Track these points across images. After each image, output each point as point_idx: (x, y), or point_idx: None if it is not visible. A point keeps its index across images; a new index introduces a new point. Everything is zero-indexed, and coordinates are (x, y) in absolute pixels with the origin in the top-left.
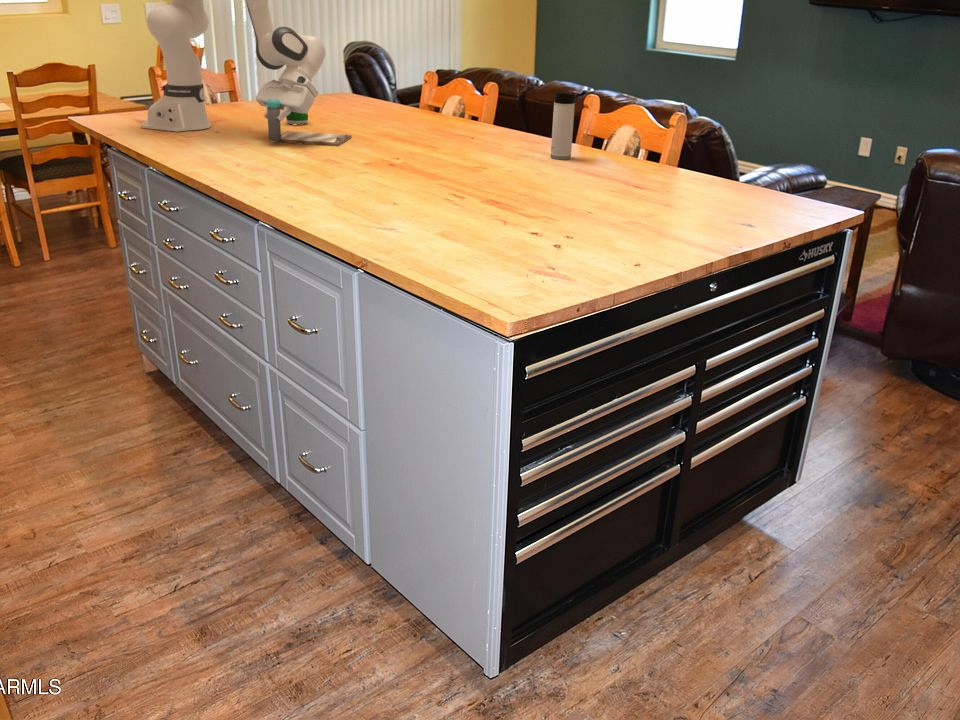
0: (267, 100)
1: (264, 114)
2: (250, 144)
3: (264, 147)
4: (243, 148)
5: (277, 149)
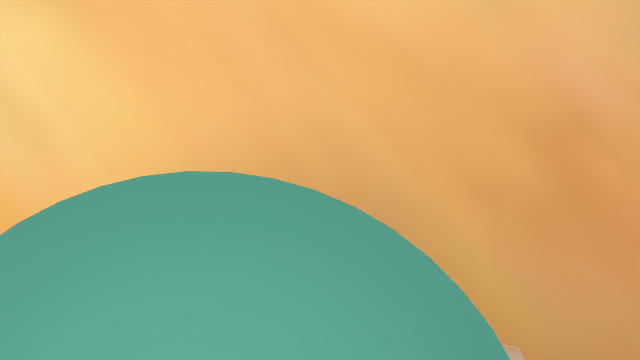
0: (344, 222)
1: (504, 349)
2: (508, 195)
3: (291, 155)
4: (425, 7)
5: (120, 150)
